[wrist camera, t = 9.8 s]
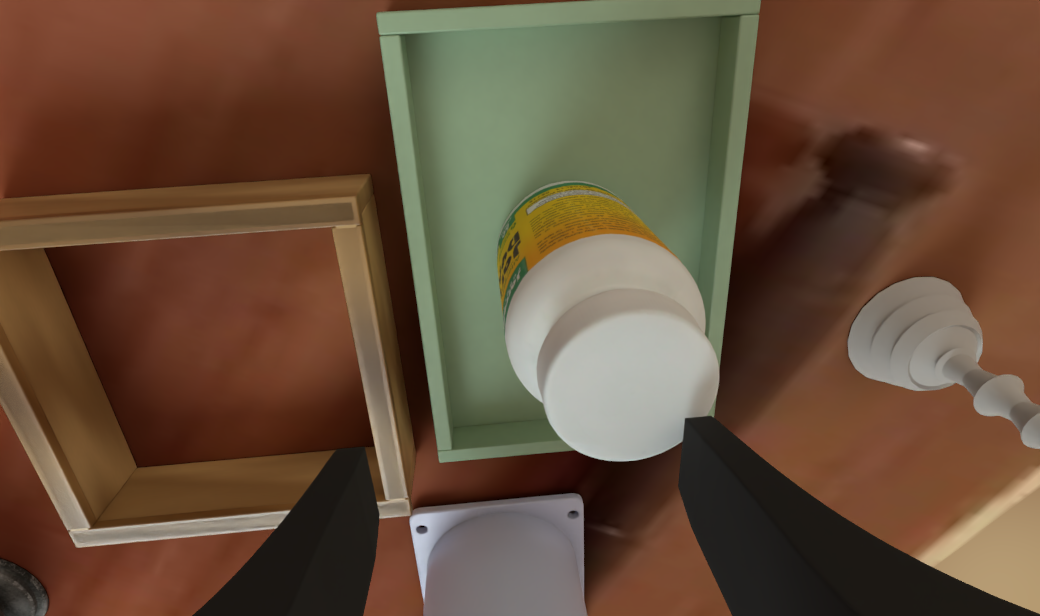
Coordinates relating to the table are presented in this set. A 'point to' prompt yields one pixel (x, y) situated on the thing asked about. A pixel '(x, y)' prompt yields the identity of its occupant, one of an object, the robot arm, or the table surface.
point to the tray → (555, 166)
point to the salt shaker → (20, 592)
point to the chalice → (935, 350)
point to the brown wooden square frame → (84, 404)
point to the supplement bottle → (603, 323)
